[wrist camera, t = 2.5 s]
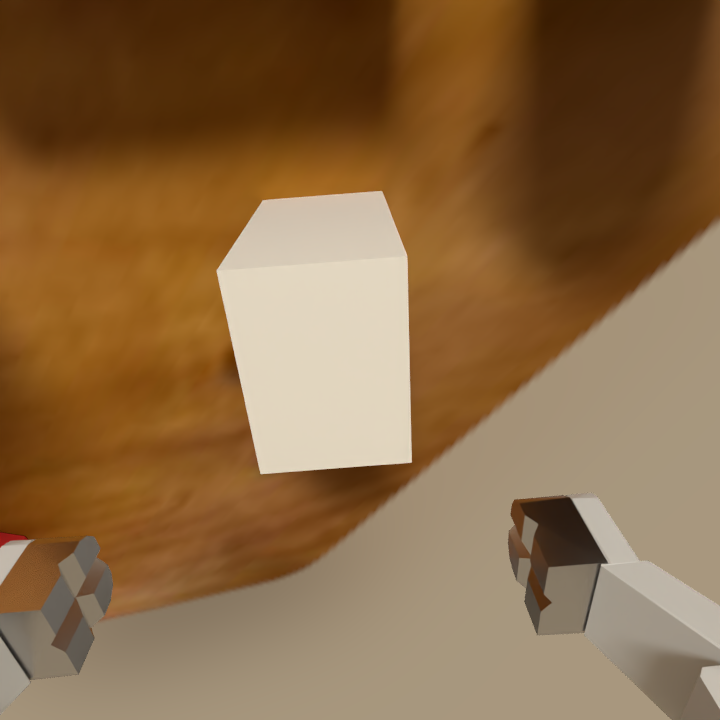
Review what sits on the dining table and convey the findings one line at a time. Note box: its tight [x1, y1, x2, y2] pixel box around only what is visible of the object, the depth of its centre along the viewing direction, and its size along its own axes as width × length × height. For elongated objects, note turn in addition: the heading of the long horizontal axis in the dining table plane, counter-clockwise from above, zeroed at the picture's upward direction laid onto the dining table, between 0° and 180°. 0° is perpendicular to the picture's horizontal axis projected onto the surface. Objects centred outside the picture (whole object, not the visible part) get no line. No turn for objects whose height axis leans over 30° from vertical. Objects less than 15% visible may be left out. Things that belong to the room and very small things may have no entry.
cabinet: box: [217, 191, 412, 474], centre depth 19 cm, size 5×7×9 cm
